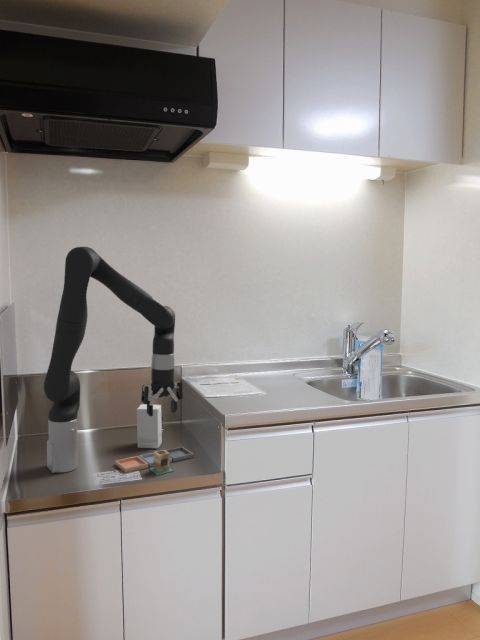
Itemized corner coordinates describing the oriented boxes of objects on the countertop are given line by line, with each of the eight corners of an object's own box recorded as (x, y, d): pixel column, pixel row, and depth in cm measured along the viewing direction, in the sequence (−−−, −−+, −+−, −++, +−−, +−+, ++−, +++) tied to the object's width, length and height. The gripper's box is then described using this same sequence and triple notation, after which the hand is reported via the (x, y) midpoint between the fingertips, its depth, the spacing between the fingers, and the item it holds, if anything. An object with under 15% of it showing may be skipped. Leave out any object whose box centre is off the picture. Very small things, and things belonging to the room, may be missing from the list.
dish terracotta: (125, 473, 174) (125, 468, 174) (115, 464, 181) (115, 460, 181) (148, 467, 179) (148, 463, 179) (137, 459, 186) (137, 455, 186)
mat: (157, 475, 173) (157, 474, 173) (149, 469, 178) (149, 468, 178) (173, 471, 177) (173, 470, 177) (165, 465, 182) (165, 464, 182)
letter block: (158, 472, 175) (159, 455, 174) (153, 468, 178) (153, 451, 177) (169, 470, 177) (169, 452, 176) (163, 466, 180) (164, 449, 179)
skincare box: (162, 443, 203) (162, 404, 202) (157, 449, 197) (158, 409, 195) (141, 442, 204) (141, 403, 202) (136, 448, 198) (136, 408, 196)
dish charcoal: (172, 462, 185) (173, 458, 185) (161, 454, 192) (161, 450, 192) (193, 457, 190) (193, 453, 190) (182, 450, 197) (182, 446, 196)
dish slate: (149, 467, 180) (149, 463, 179) (139, 459, 186) (139, 455, 186) (171, 462, 185) (171, 458, 184) (160, 454, 191) (160, 451, 191)
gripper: (148, 370, 166) (147, 420, 168) (187, 366, 175) (186, 413, 176) (138, 366, 172) (137, 414, 174) (176, 362, 181) (175, 408, 182)
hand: (162, 413), depth 175 cm, fingers open, 8 cm apart
